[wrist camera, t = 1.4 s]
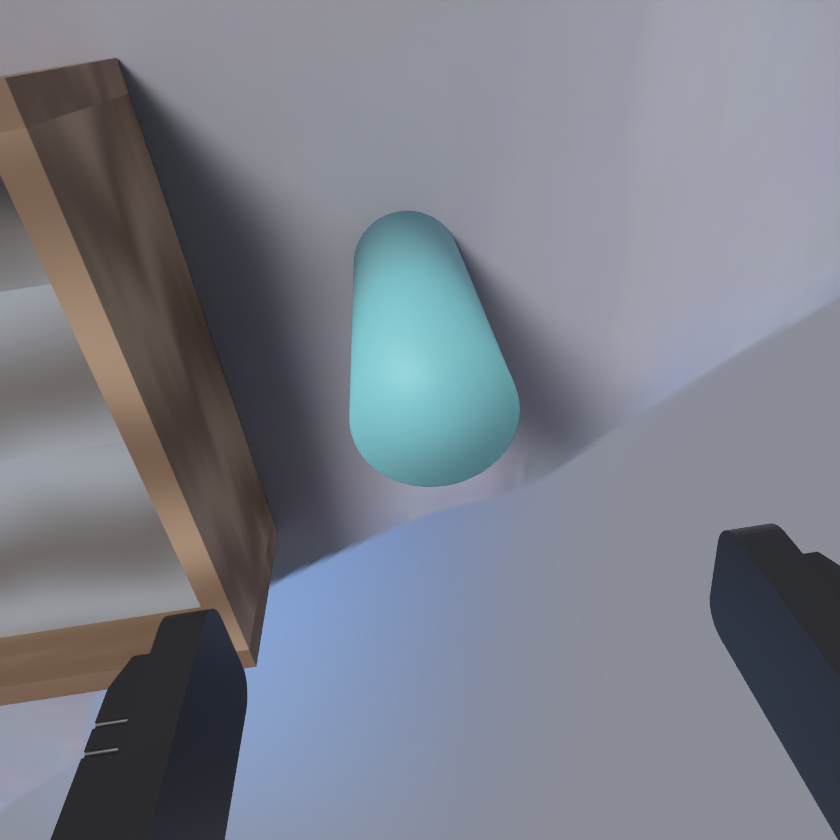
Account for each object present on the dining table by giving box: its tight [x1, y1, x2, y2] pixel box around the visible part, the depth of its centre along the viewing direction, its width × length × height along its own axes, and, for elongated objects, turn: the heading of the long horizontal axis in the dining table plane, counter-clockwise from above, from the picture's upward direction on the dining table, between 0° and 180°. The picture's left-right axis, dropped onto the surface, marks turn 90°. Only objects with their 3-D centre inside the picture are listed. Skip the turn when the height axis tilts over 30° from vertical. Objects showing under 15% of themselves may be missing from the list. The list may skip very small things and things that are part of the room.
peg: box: [349, 211, 520, 487], centre depth 20 cm, size 4×4×11 cm
